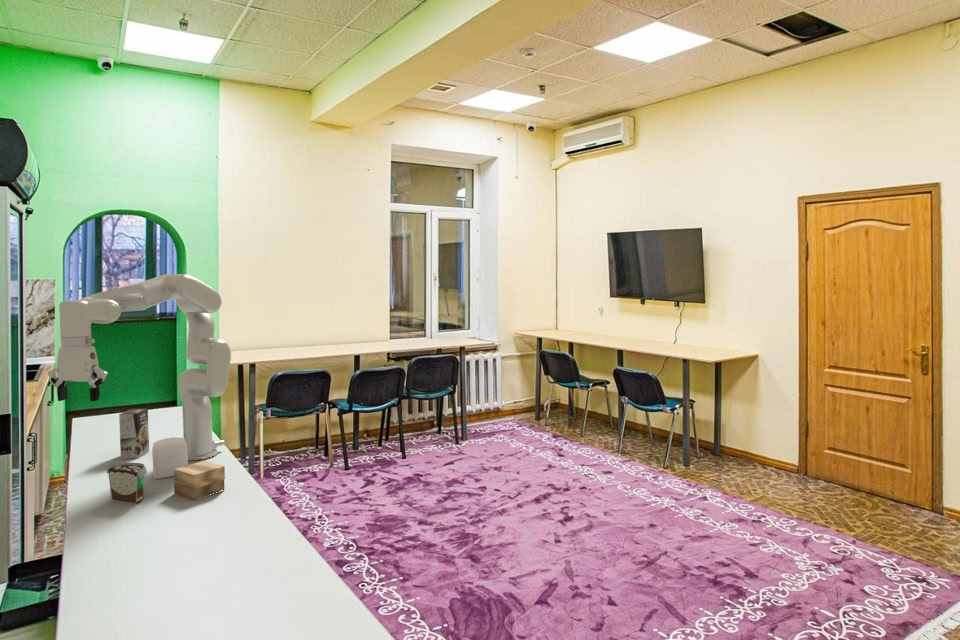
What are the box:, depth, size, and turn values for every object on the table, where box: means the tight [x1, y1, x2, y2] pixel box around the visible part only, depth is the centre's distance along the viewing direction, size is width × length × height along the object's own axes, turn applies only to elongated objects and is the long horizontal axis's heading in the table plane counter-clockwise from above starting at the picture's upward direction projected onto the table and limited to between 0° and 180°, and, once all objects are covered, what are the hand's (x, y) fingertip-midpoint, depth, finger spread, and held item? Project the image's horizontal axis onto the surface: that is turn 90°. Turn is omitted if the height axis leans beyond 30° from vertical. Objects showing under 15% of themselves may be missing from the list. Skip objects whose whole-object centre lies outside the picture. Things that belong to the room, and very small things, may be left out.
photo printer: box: [151, 437, 189, 480], centre depth 203 cm, size 10×4×12 cm, turn 123°
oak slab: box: [173, 460, 226, 489], centre depth 188 cm, size 10×10×4 cm
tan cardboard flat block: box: [173, 479, 226, 501], centre depth 188 cm, size 10×10×4 cm
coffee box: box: [118, 408, 150, 459], centre depth 226 cm, size 9×6×16 cm
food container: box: [106, 462, 148, 505], centre depth 182 cm, size 12×6×10 cm, turn 71°
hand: (78, 400), depth 184 cm, fingers open, 9 cm apart
